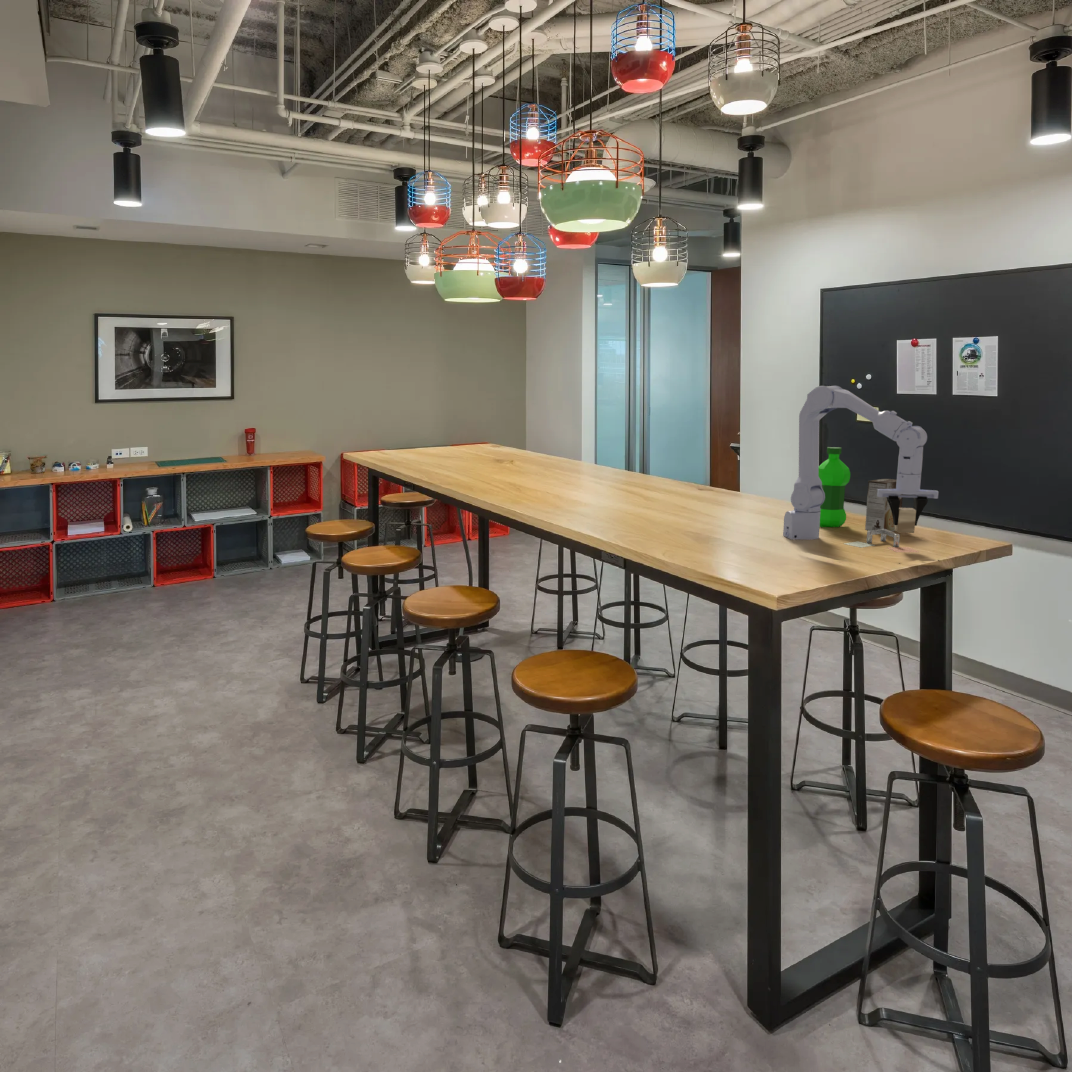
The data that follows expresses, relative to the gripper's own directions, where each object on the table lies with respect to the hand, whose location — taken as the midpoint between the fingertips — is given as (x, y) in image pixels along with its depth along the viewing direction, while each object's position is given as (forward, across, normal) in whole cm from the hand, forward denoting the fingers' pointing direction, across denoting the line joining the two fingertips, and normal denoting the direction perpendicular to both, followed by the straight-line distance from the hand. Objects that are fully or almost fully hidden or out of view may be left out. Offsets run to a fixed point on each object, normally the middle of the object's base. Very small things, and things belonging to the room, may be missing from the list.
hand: (904, 524), depth 215 cm
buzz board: (+8, +5, -4) cm, 10 cm away
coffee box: (+8, -1, -31) cm, 32 cm away
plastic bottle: (+8, +14, -36) cm, 40 cm away
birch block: (+2, 0, 0) cm, 2 cm away
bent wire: (+7, +4, -7) cm, 11 cm away
